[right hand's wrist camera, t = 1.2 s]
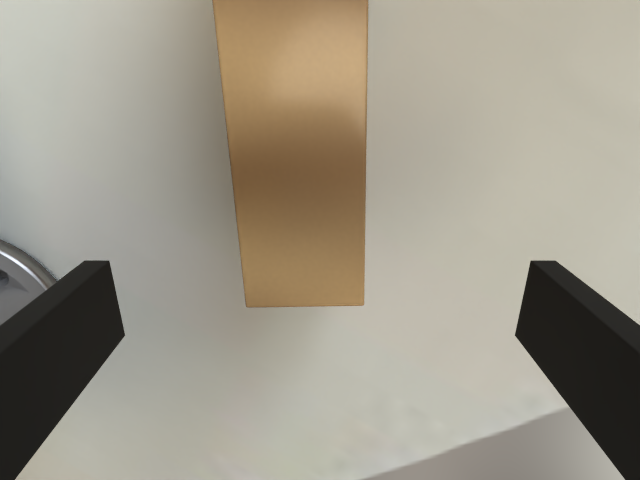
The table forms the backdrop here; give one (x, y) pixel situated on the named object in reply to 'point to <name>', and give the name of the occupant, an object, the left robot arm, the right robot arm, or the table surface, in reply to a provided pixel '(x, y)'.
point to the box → (297, 146)
